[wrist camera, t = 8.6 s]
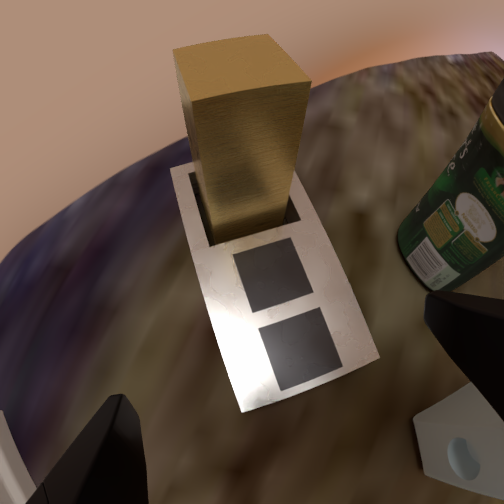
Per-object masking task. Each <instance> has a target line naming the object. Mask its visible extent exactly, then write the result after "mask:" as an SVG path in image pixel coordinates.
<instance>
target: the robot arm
mask: <svg viewBox="0 0 504 504" xmlns="http://www.w3.org/2000/svg"><path fill="white" fill-rule="evenodd" d="M424 321H425V323H426V325H427V326H428V328H429V329H430V330H431V332H432V333H433V334H434V336H435V337H436V339H437V340H438V341H439V343H440V344H441V345H442V347H443V348H444V350H445V351H446V352H447V354H448V355H449V356H450V358H451V359H452V360H453V361H454V362H455V364H456V365H457V366H458V367H459V368H460V369H461V370H462V372H463V373H464V374H465V375H466V376H467V377H468V379H469V380H470V381H471V382H472V383H473V385H474V386H475V387H476V388H477V389H478V391H479V392H480V393H481V394H482V395H483V397H484V398H485V399H486V400H487V401H488V403H489V404H490V405H491V406H492V408H493V409H494V410H495V411H496V413H497V414H498V415H499V417H500V418H501V419H502V420H503V422H504V300H502V299H495V298H489V297H482V296H475V295H469V294H462V293H455V292H449V291H442V290H435V291H433V292H431V293H429V294H427V295H426V298H425V307H424ZM25 504H149V502H148V488H147V471H146V462H145V455H144V448H143V441H142V434H141V426H140V419H139V416H138V414H137V412H136V411H135V409H134V408H133V406H132V404H131V403H130V401H129V400H128V398H127V397H126V396H125V395H124V394H117V395H111V396H109V397H108V399H107V400H106V401H105V402H104V404H103V405H102V406H101V407H100V409H99V410H98V411H97V412H96V414H95V415H94V416H93V417H92V419H91V420H90V421H89V422H88V424H87V425H86V426H85V427H84V429H83V430H82V431H81V432H80V434H79V435H78V436H77V438H76V439H75V440H74V441H73V443H72V444H71V445H70V446H69V448H68V449H67V450H66V452H65V453H64V454H63V455H62V457H61V458H60V459H59V461H58V462H57V463H56V464H55V466H54V467H53V468H52V470H51V471H50V472H49V474H48V475H47V476H46V477H45V479H44V480H43V482H42V483H41V484H40V485H39V486H38V488H37V489H36V490H35V492H34V493H33V494H32V495H31V497H30V498H29V499H28V500H27V502H26V503H25Z"/></svg>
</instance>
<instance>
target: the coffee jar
mask: <svg viewBox="0 0 504 504" xmlns="http://www.w3.org/2000/svg"><path fill="white" fill-rule="evenodd" d="M398 243H399V247H400V249H401V252H402V254H403V256H404V258H405V260H406V262H407V263H408V265H409V267H410V268H411V270H412V271H413V272H414V274H415V275H416V276H417V278H418V279H419V280H420V281H422V282H423V283H424V284H425V286H427V287H428V288H429V289H431V290H433V291H435V290H442V291H449V292H450V291H452V290H454V289H455V288H457V287H459V286H460V285H462V284H464V283H465V282H467V281H468V280H470V279H471V278H473V277H474V276H476V275H477V274H479V273H480V272H482V271H483V270H485V269H486V268H488V267H489V266H490V265H492V264H493V263H495V262H496V261H498V260H499V259H501V258H502V257H503V256H504V79H503V80H502V82H501V83H500V85H499V86H498V88H497V90H496V91H495V93H494V94H493V96H492V97H491V98H490V100H489V102H488V104H487V105H486V107H485V109H484V111H483V112H482V114H481V116H480V118H479V119H478V121H477V122H476V124H475V126H474V127H473V129H472V131H471V132H470V134H469V135H468V137H467V138H466V140H465V141H464V143H463V144H462V146H461V147H460V148H459V150H458V151H457V153H456V154H455V155H454V157H453V158H452V160H451V161H450V163H449V164H448V165H447V167H446V168H445V169H444V171H443V172H442V174H441V175H440V176H439V177H438V179H437V180H436V181H435V183H434V184H433V185H432V187H431V188H430V189H429V191H428V192H427V193H426V194H425V195H424V197H423V198H422V199H421V200H420V202H419V203H418V204H417V205H416V206H415V208H414V209H413V210H412V211H411V212H410V214H409V215H408V216H407V217H406V218H405V220H404V221H403V222H402V224H401V225H400V228H399V231H398Z"/></svg>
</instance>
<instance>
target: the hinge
mask: <svg viewBox="0 0 504 504" xmlns="http://www.w3.org/2000/svg"><path fill="white" fill-rule="evenodd" d="M36 489H37V488H36V486H35V484H34V482H33V481H32V479H31V477H30V475H29V473H28V471H27V469H26V467H25V465H24V463H23V460H22V458H21V456H20V454H19V452H18V450H17V447H16V445H15V443H14V440H13V438H12V435H11V433H10V430H9V428H8V425H7V422H6V420H5V417H4V414H3V411H2V410H0V504H25V503H26V502H27V500H28V499H29V498H30V497H31V495H32V494H33V493H34V492H35V490H36Z"/></svg>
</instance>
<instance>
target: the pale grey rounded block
mask: <svg viewBox="0 0 504 504" xmlns="http://www.w3.org/2000/svg"><path fill="white" fill-rule="evenodd" d="M413 422H414V426H415V430H416V435H417V439H418V444H419V449H420V454H421V459H422V464H423V470H424V474H425V475H426V476H428V477H431V478H434V479H437V480H439V481H442V482H445V483H448V484H451V485H454V486H457V487H460V488H463V489H466V490H469V491H472V492H476V493H479V494H483V495H486V496H490V497H493V498H497V499H501V500H504V422H503V420H502V419H501V418H500V417H499V415H498V414H497V413H496V411H495V410H494V409H493V408H492V406H491V405H490V404H489V403H488V401H487V400H486V399H485V398H484V397H483V395H482V394H481V393H480V392H479V391H478V389H477V388H476V387H475V386H474V385H473V383H472V382H469V383H468V384H467V385H465V386H463V387H462V388H460V389H459V390H457V391H456V392H454V393H453V394H451V395H449V396H448V397H446V398H444V399H443V400H441V401H439V402H438V403H436V404H434V405H433V406H431V407H429V408H427V409H426V410H424V411H422V412H420V413H418V414H417V415H415V416H414V418H413Z"/></svg>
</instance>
